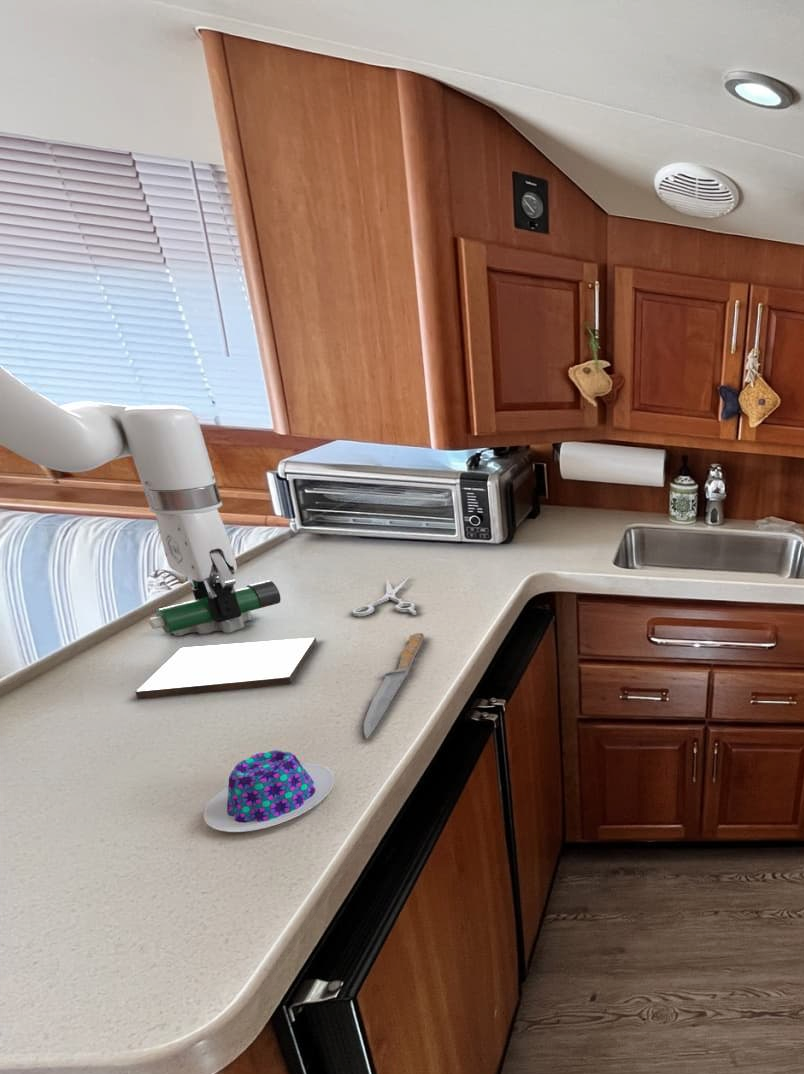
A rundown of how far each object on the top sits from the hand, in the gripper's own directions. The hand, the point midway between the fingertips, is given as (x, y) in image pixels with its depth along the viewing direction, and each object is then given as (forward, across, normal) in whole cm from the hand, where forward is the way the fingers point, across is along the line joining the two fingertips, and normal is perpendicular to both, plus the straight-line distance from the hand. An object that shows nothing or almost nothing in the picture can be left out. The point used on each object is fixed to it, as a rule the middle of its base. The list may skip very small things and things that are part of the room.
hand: (220, 614), depth 96 cm
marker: (+1, 0, 0) cm, 1 cm away
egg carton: (+10, -20, +4) cm, 22 cm away
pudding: (+10, +37, -12) cm, 40 cm away
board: (+9, 0, 0) cm, 9 cm away
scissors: (+10, -9, +30) cm, 32 cm away
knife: (+10, +22, +11) cm, 27 cm away
